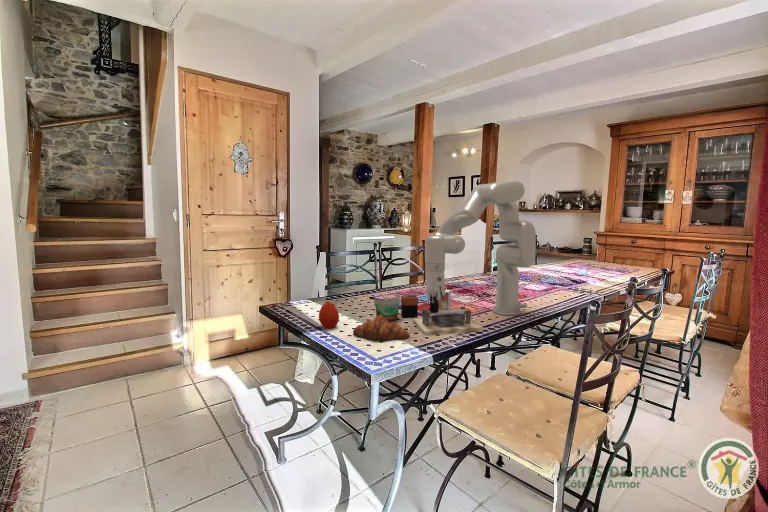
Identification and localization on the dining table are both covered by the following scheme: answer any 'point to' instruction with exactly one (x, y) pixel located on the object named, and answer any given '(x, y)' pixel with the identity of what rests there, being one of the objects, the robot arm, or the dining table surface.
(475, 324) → the heatsink board
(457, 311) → the clamp bar
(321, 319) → the red egg
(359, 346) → the dining table surface
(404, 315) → the battery
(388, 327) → the pastry
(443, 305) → the small box
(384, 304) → the food container
